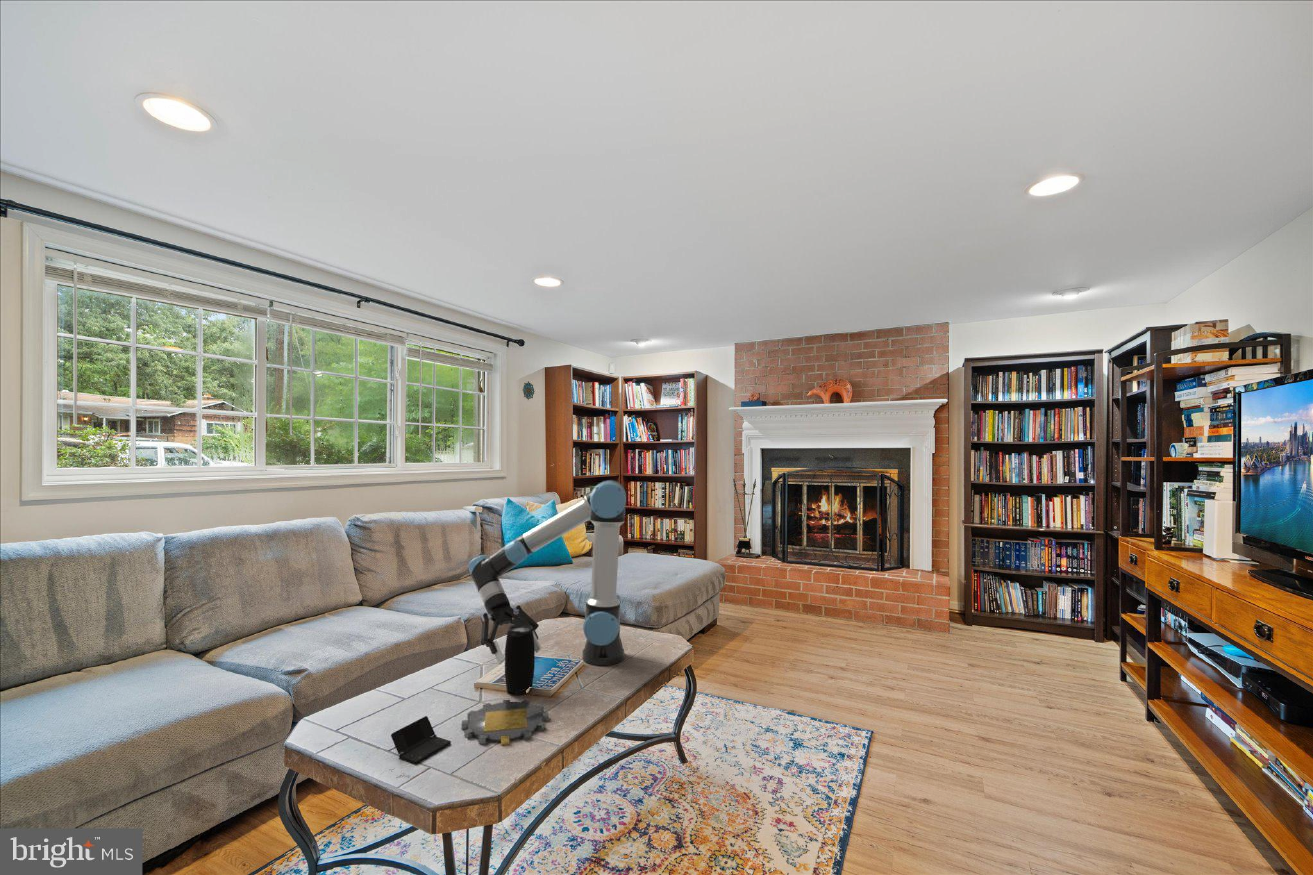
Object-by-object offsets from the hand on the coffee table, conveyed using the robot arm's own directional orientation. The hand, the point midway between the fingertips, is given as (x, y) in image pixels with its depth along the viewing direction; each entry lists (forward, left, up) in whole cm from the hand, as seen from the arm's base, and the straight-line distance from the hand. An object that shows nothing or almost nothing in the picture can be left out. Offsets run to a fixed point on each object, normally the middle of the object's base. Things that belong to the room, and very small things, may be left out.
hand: (520, 656), depth 177 cm
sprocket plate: (+15, +14, -11) cm, 23 cm away
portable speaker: (0, -1, -11) cm, 11 cm away
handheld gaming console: (+37, +10, -11) cm, 40 cm away
